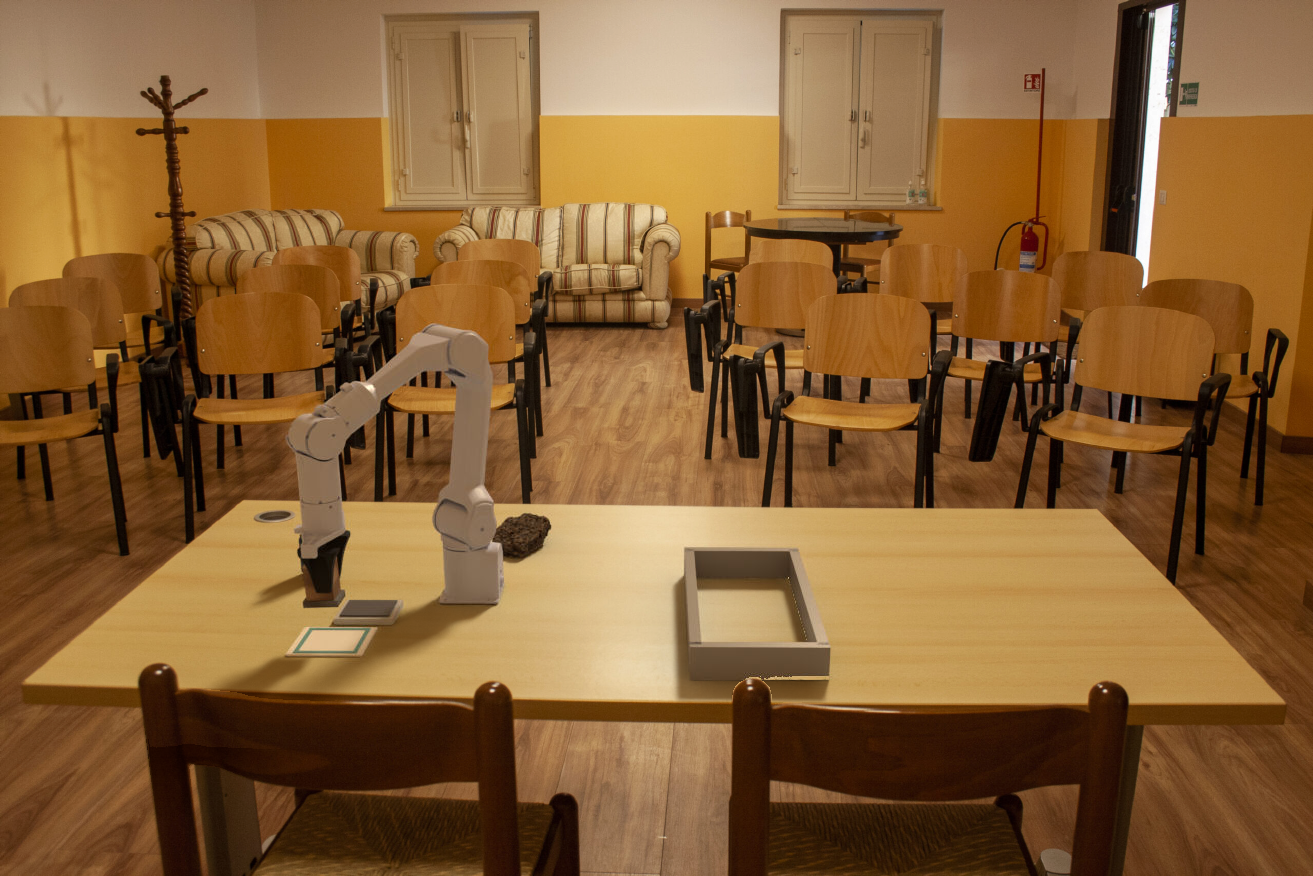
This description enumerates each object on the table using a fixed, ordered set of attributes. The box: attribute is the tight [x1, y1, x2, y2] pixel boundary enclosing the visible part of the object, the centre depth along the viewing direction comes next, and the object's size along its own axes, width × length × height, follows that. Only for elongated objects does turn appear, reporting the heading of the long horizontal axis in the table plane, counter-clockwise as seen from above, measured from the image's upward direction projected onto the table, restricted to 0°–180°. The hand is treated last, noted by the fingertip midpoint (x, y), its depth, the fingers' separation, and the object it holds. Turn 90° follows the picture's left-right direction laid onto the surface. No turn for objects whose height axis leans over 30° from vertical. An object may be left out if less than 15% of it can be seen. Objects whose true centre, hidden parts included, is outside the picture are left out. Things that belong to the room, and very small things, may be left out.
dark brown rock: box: [491, 512, 552, 559], centre depth 200 cm, size 12×10×5 cm
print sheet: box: [285, 626, 379, 658], centre depth 162 cm, size 11×9×1 cm
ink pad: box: [333, 599, 404, 626], centre depth 171 cm, size 9×7×1 cm
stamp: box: [302, 557, 347, 609], centre depth 160 cm, size 5×4×6 cm
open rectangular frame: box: [683, 546, 832, 681], centre depth 169 cm, size 19×37×5 cm, turn 0°
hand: (328, 586), depth 160 cm, fingers closed on stamp, 3 cm apart
